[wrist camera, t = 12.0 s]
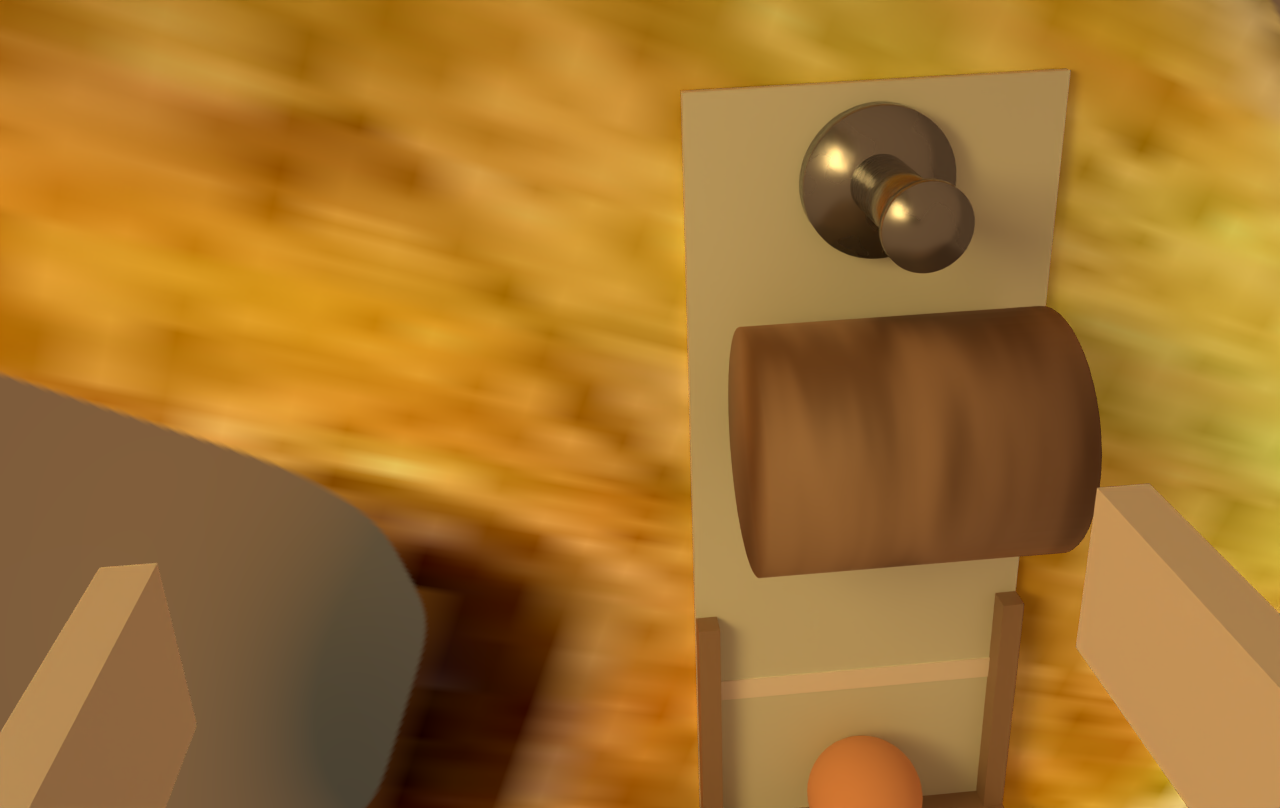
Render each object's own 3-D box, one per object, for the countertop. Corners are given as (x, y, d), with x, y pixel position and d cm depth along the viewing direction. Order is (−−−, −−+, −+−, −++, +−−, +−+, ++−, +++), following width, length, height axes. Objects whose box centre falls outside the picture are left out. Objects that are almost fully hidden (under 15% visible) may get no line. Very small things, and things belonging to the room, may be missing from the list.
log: (729, 501, 49) (770, 629, 41) (726, 292, 45) (771, 387, 37) (992, 480, 50) (1084, 602, 42) (1011, 272, 46) (1116, 362, 38)
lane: (700, 839, 57) (715, 921, 53) (680, 90, 42) (698, 117, 38) (988, 812, 58) (1026, 889, 53) (1066, 68, 43) (1126, 91, 39)
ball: (796, 718, 54) (797, 811, 56) (820, 786, 50) (821, 885, 51) (904, 708, 55) (902, 801, 56) (939, 775, 50) (936, 874, 51)
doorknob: (797, 257, 45) (839, 317, 39) (800, 106, 43) (844, 145, 37) (944, 247, 45) (1007, 305, 39) (954, 96, 43) (1022, 134, 37)
